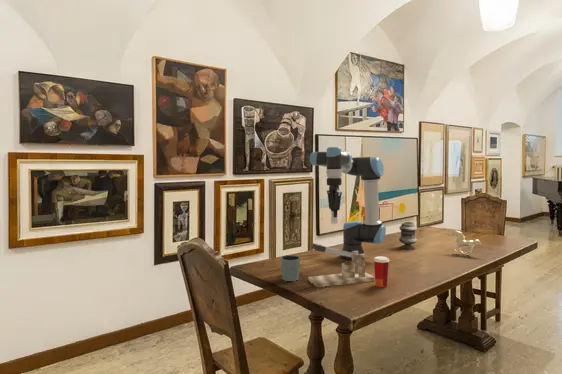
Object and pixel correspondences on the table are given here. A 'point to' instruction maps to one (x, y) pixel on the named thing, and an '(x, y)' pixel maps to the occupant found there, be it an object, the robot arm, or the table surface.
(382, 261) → the paper cup
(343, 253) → the lever
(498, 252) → the table surface
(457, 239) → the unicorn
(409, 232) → the apothecary jar
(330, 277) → the press base
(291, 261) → the blue grey planter pot
